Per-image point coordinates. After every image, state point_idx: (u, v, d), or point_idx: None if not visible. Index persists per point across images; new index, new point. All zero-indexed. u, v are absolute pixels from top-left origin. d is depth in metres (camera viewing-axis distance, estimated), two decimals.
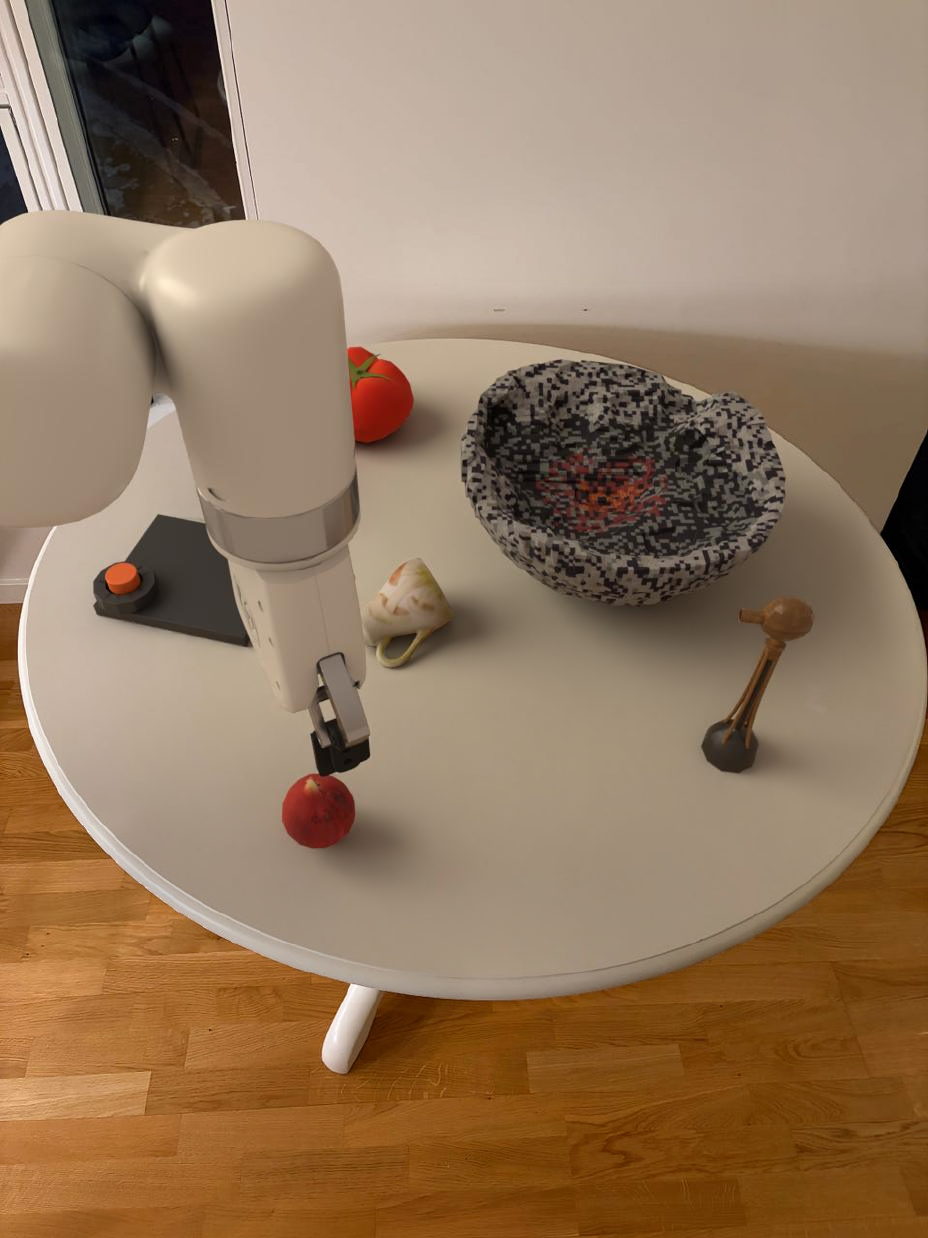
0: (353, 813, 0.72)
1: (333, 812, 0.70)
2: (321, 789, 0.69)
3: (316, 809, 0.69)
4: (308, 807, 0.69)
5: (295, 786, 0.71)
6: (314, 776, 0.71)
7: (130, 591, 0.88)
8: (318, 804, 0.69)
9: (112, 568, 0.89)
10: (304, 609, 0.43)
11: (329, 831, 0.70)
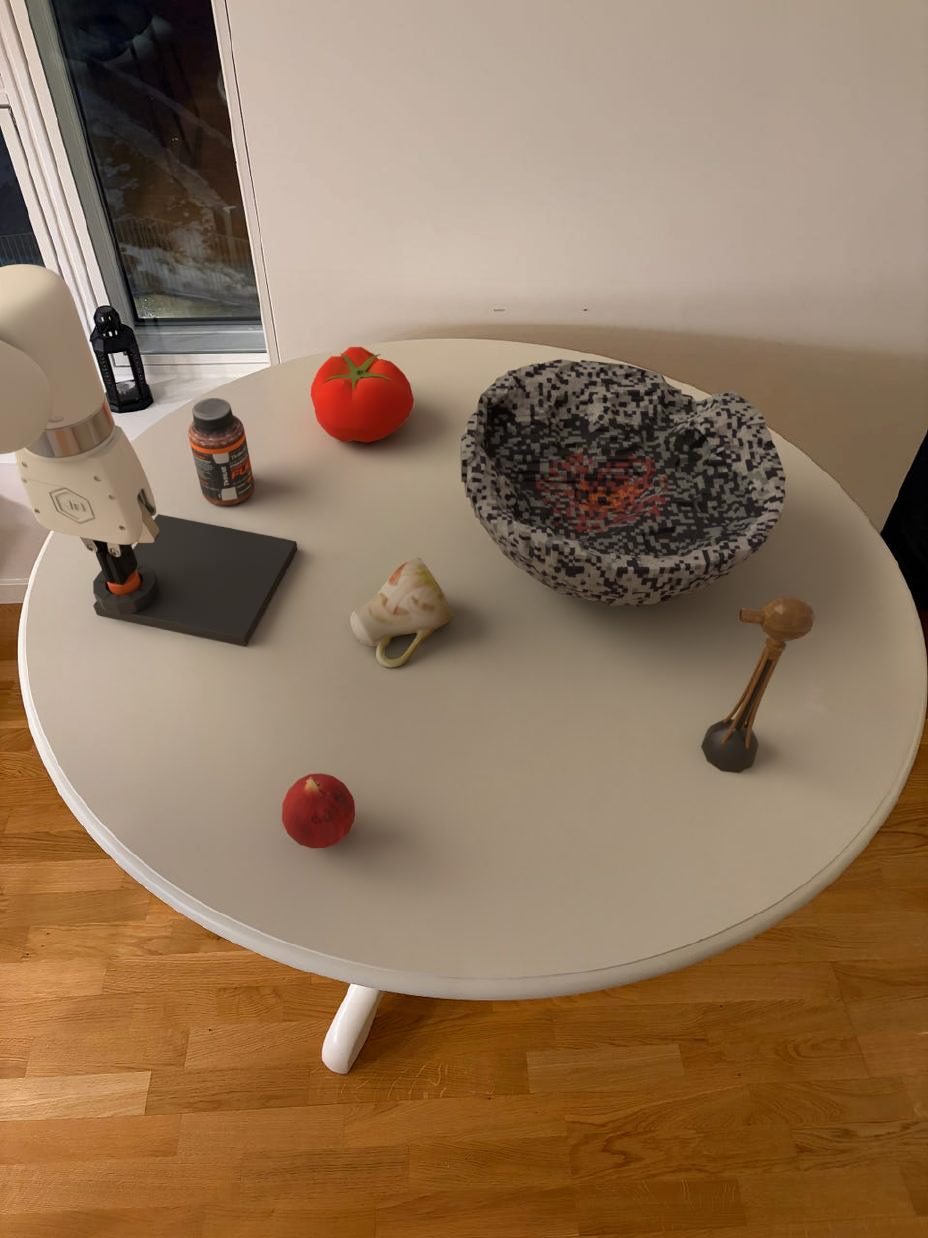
0: (353, 813, 0.72)
1: (333, 812, 0.70)
2: (321, 789, 0.69)
3: (317, 809, 0.69)
4: (308, 807, 0.69)
5: (295, 786, 0.71)
6: (314, 776, 0.71)
7: None
8: (318, 804, 0.69)
9: None
10: (121, 465, 0.76)
11: (329, 831, 0.70)
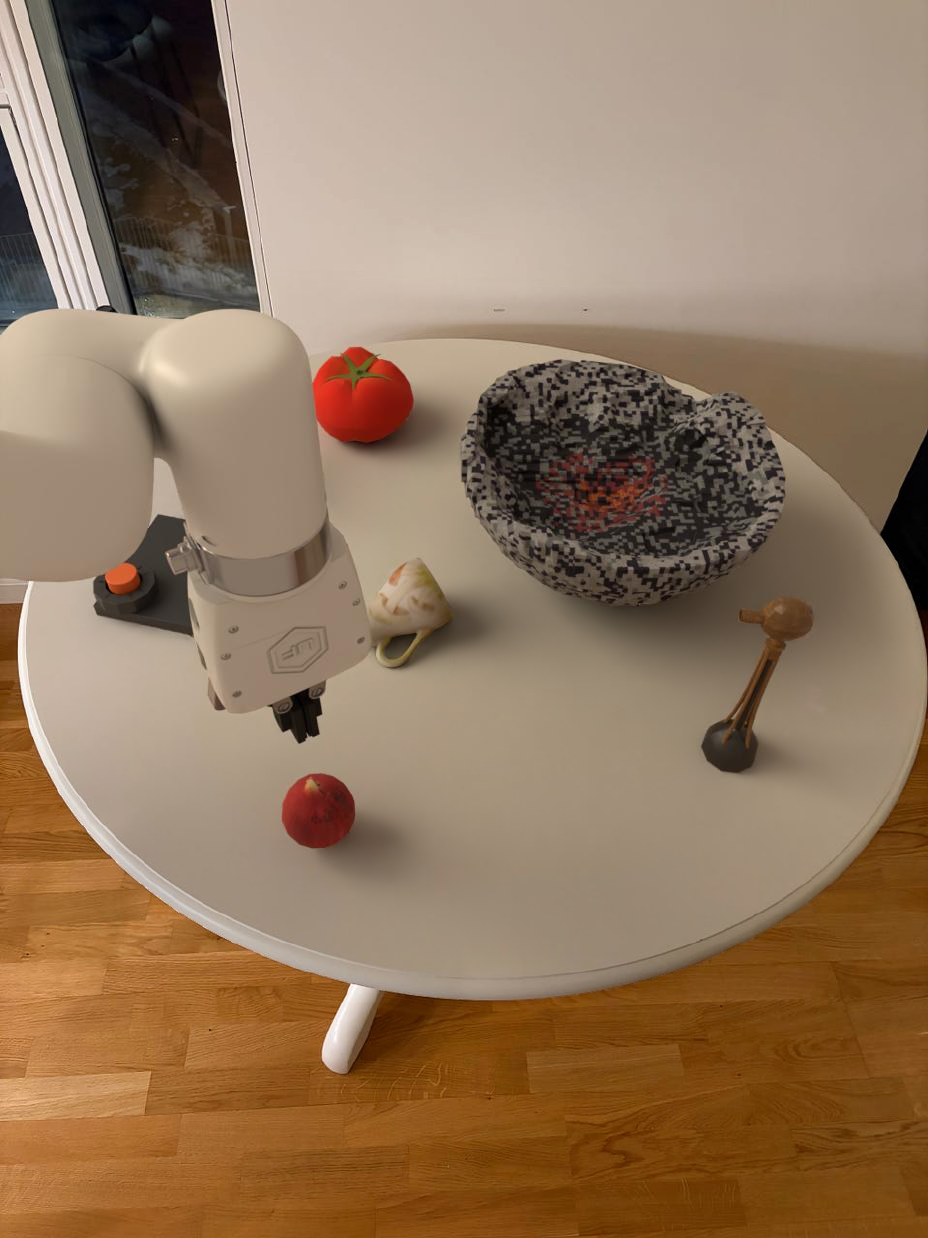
0: (353, 813, 0.72)
1: (333, 812, 0.70)
2: (321, 789, 0.69)
3: (317, 809, 0.69)
4: (308, 807, 0.69)
5: (295, 786, 0.71)
6: (314, 776, 0.71)
7: (130, 591, 0.88)
8: (318, 804, 0.69)
9: None
10: None
11: (329, 831, 0.70)
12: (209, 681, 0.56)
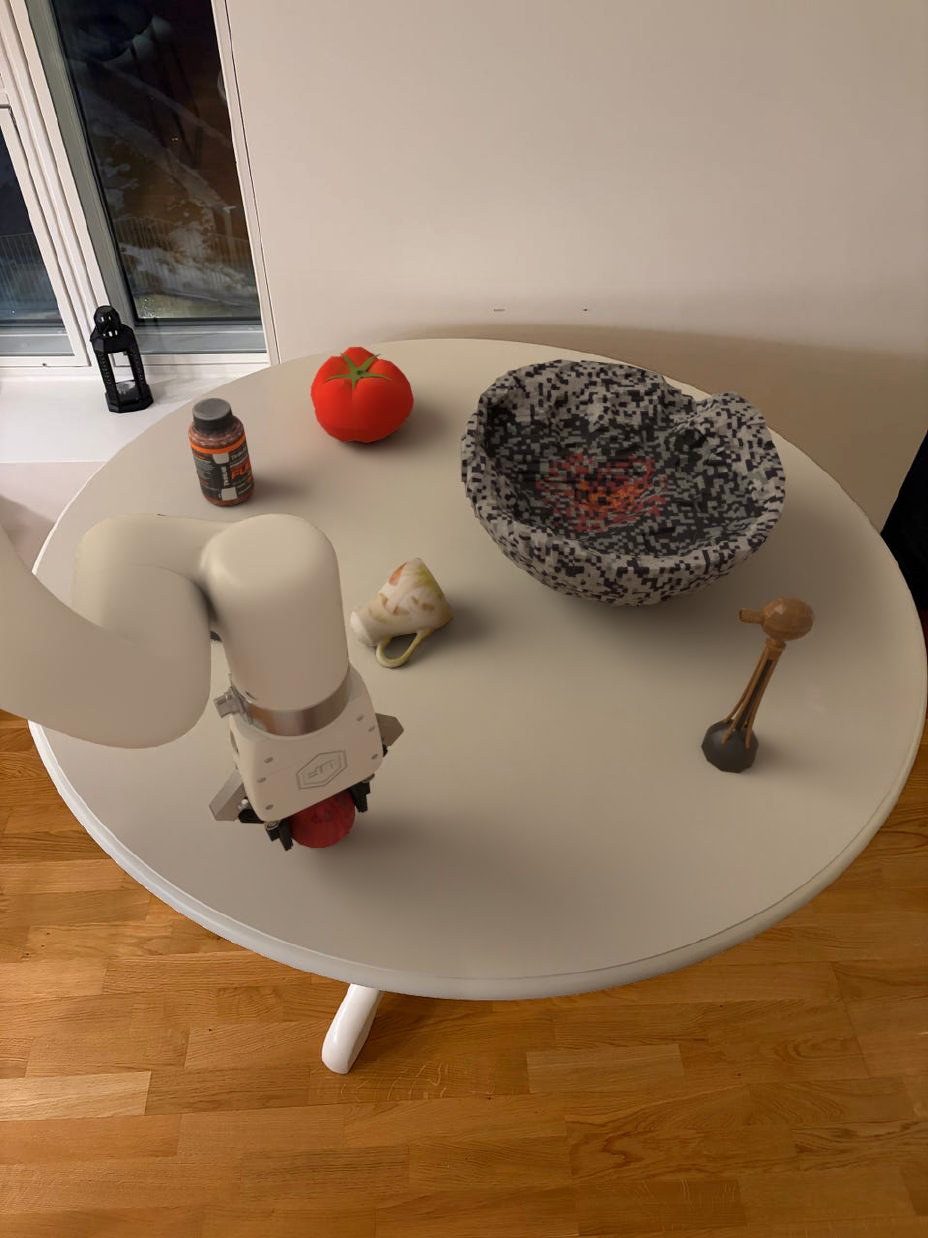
0: (353, 813, 0.72)
1: (333, 812, 0.70)
2: None
3: (317, 809, 0.69)
4: (308, 807, 0.69)
5: None
6: None
7: None
8: (318, 804, 0.69)
9: None
10: None
11: (329, 831, 0.70)
12: (221, 792, 0.64)
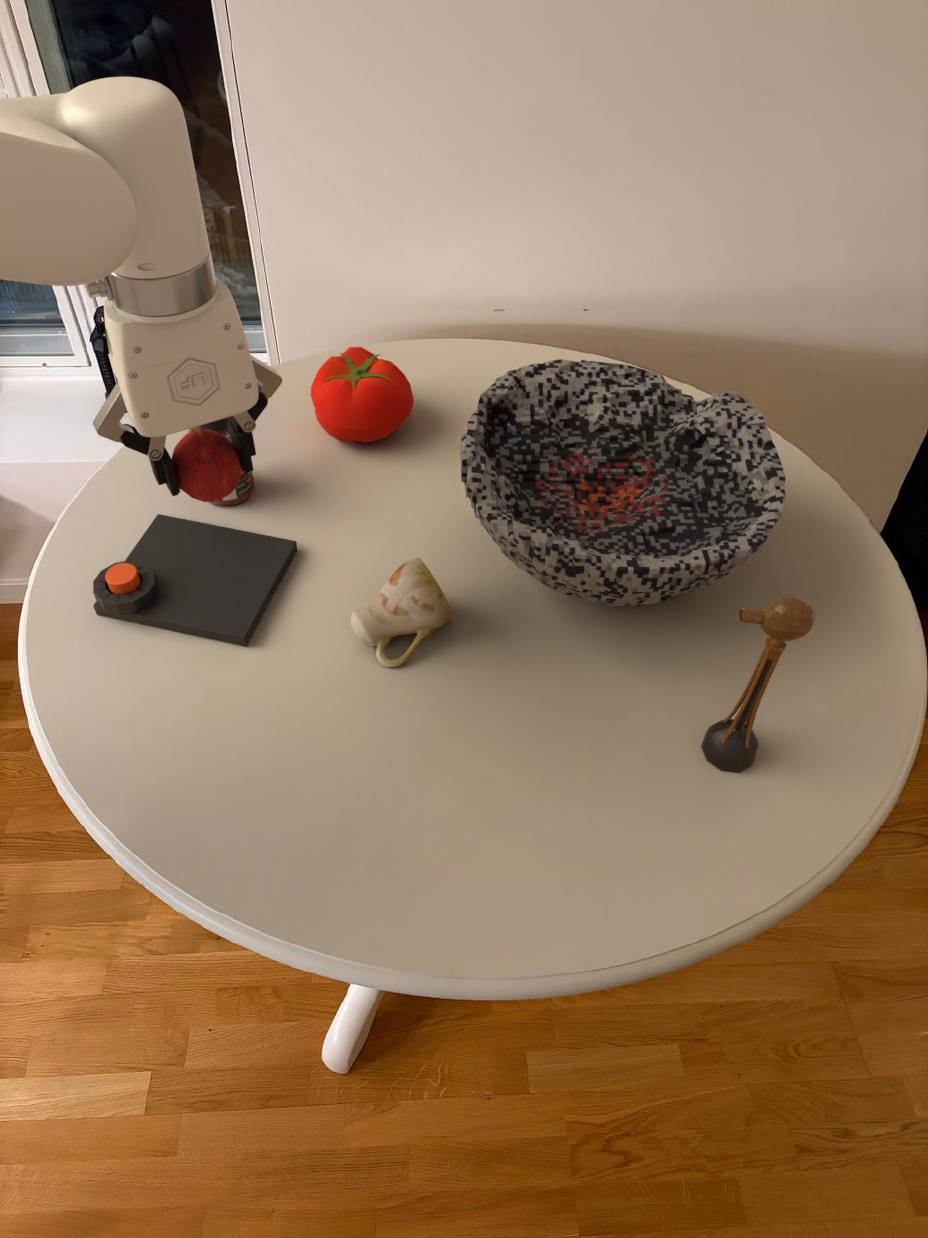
0: (238, 466, 0.77)
1: (216, 456, 0.75)
2: (205, 433, 0.75)
3: (199, 450, 0.74)
4: (192, 448, 0.74)
5: None
6: None
7: (130, 591, 0.88)
8: (201, 446, 0.74)
9: (112, 568, 0.89)
10: None
11: (212, 473, 0.75)
12: (102, 407, 0.69)
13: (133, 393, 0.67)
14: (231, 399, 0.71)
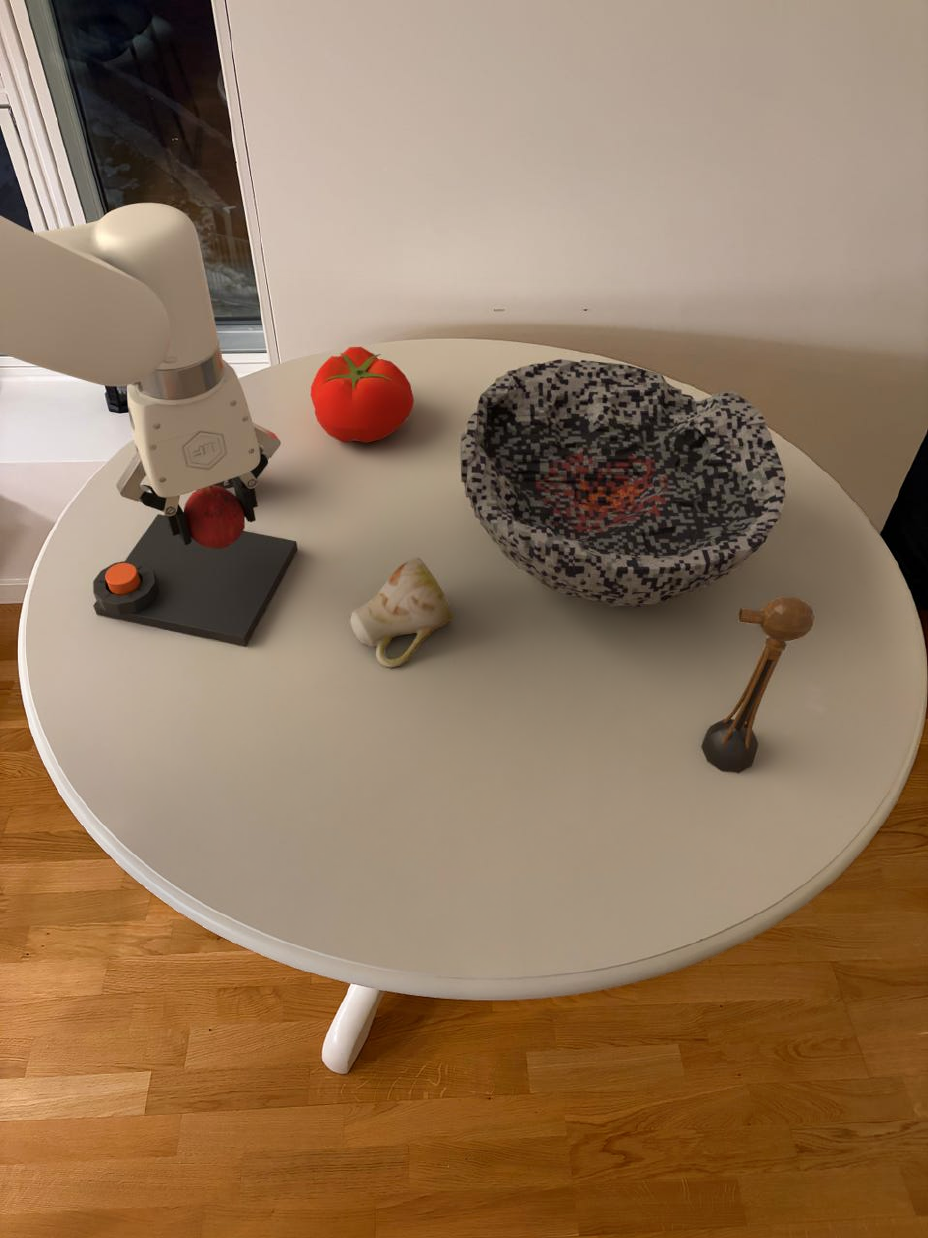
0: (242, 518, 0.87)
1: (223, 510, 0.85)
2: (213, 490, 0.85)
3: (209, 505, 0.85)
4: (202, 504, 0.85)
5: None
6: None
7: (130, 591, 0.88)
8: (210, 501, 0.85)
9: (112, 568, 0.89)
10: (240, 384, 0.78)
11: (220, 525, 0.85)
12: (125, 472, 0.80)
13: (152, 462, 0.77)
14: (237, 463, 0.81)
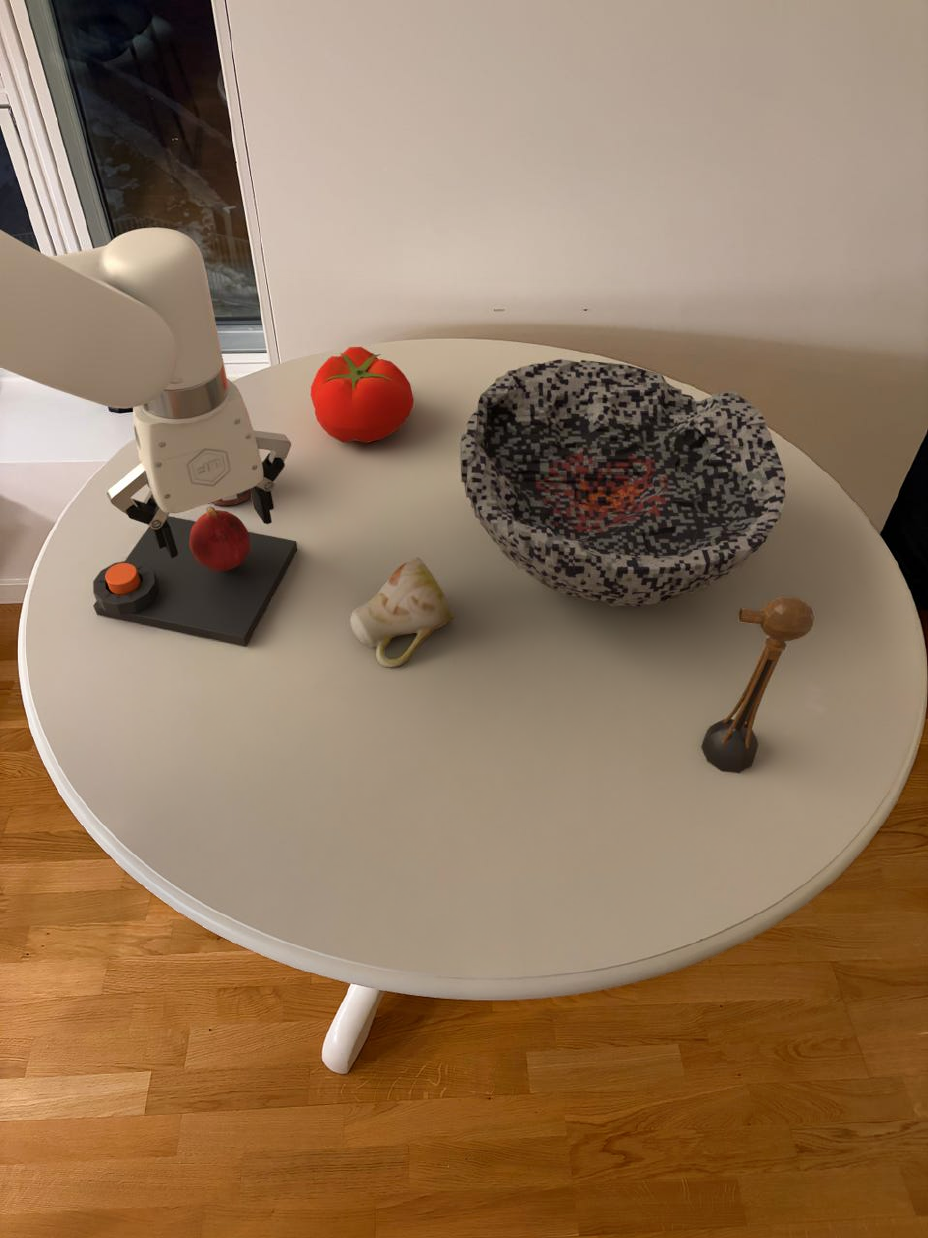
0: (247, 541, 0.90)
1: (228, 534, 0.88)
2: (219, 515, 0.87)
3: (215, 530, 0.87)
4: (208, 528, 0.87)
5: (200, 517, 0.89)
6: (215, 510, 0.89)
7: (130, 591, 0.88)
8: (216, 526, 0.87)
9: (112, 568, 0.89)
10: None
11: (226, 549, 0.88)
12: (120, 481, 0.80)
13: (158, 479, 0.78)
14: (240, 479, 0.83)
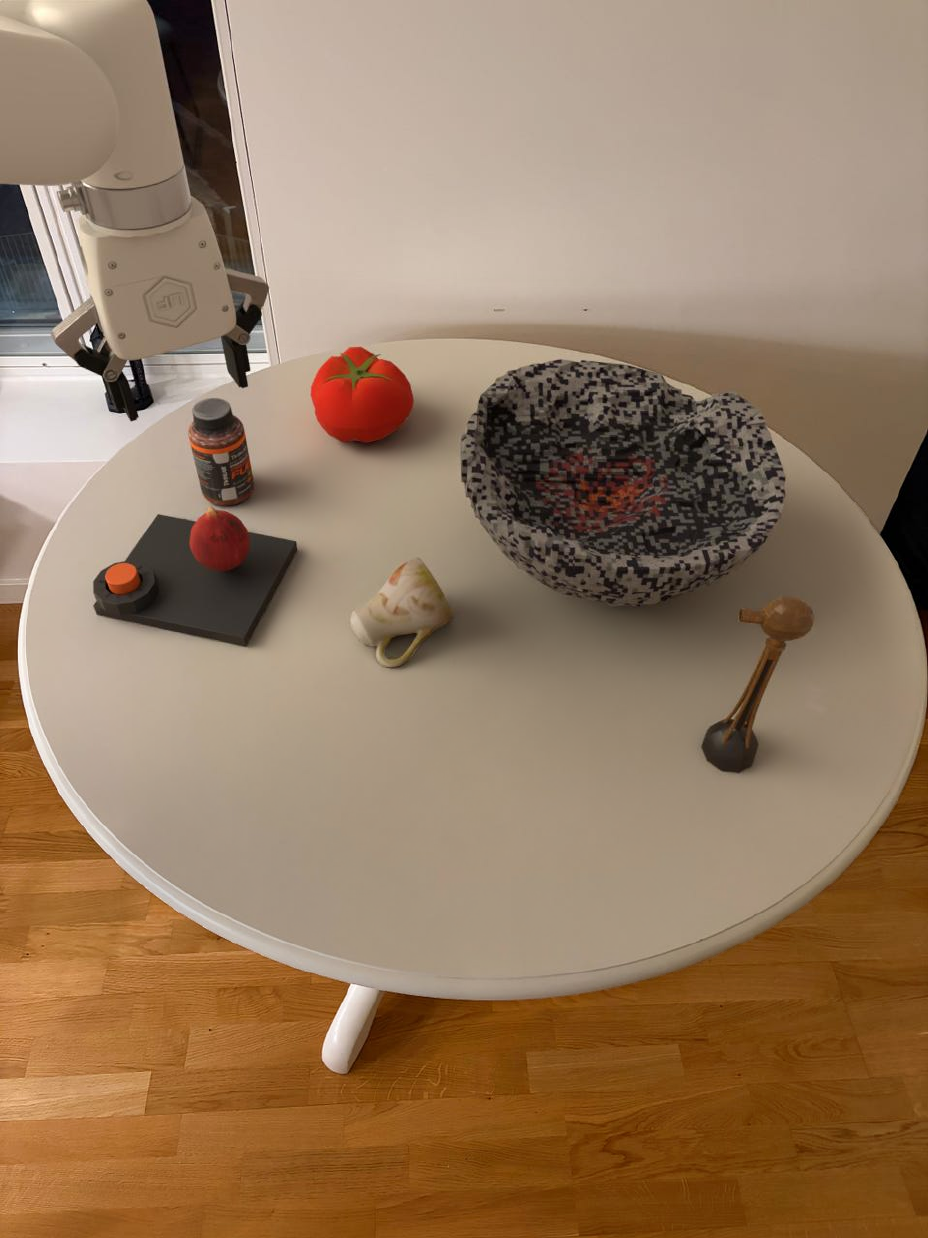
0: (247, 541, 0.90)
1: (228, 534, 0.88)
2: (219, 515, 0.87)
3: (215, 530, 0.87)
4: (208, 528, 0.87)
5: (200, 517, 0.89)
6: (215, 510, 0.89)
7: (130, 591, 0.88)
8: (216, 526, 0.87)
9: (112, 568, 0.89)
10: None
11: (226, 549, 0.88)
12: (67, 318, 0.68)
13: (109, 312, 0.67)
14: (208, 322, 0.71)
